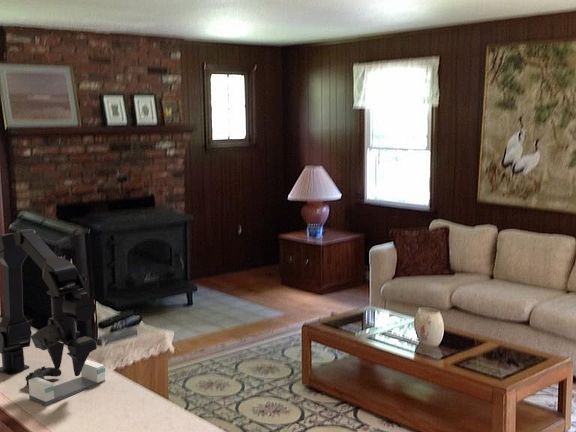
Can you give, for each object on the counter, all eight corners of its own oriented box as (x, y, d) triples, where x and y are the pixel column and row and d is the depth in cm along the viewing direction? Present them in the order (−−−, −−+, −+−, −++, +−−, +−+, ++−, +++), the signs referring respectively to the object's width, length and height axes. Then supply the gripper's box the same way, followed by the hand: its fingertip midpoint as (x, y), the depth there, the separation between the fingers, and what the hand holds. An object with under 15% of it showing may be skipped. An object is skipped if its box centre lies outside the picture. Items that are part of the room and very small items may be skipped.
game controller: (46, 384, 180) (28, 369, 181) (34, 399, 182) (17, 383, 182) (64, 371, 190) (47, 356, 190) (53, 385, 191) (37, 370, 191)
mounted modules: (29, 395, 176) (28, 379, 175) (88, 373, 190) (88, 359, 189) (46, 402, 171) (45, 386, 171) (105, 379, 185) (105, 365, 185)
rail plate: (29, 398, 176) (29, 395, 176) (89, 377, 190) (89, 373, 190) (45, 405, 172) (45, 401, 171) (105, 383, 186) (105, 379, 185)
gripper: (14, 314, 177) (18, 373, 179) (57, 327, 166) (61, 390, 168) (53, 305, 186) (56, 361, 188) (96, 316, 174) (99, 376, 177)
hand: (67, 372), depth 180 cm, fingers open, 8 cm apart
